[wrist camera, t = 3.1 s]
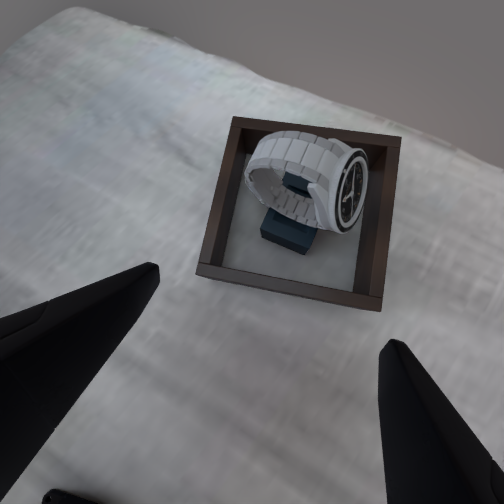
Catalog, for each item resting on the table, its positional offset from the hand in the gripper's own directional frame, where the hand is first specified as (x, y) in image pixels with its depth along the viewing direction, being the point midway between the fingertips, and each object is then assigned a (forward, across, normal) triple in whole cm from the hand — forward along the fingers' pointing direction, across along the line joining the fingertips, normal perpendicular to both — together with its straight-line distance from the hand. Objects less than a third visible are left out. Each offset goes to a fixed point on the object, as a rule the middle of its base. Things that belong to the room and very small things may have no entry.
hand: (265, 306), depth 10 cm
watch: (+15, 0, +4) cm, 16 cm away
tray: (+15, 0, +4) cm, 16 cm away
